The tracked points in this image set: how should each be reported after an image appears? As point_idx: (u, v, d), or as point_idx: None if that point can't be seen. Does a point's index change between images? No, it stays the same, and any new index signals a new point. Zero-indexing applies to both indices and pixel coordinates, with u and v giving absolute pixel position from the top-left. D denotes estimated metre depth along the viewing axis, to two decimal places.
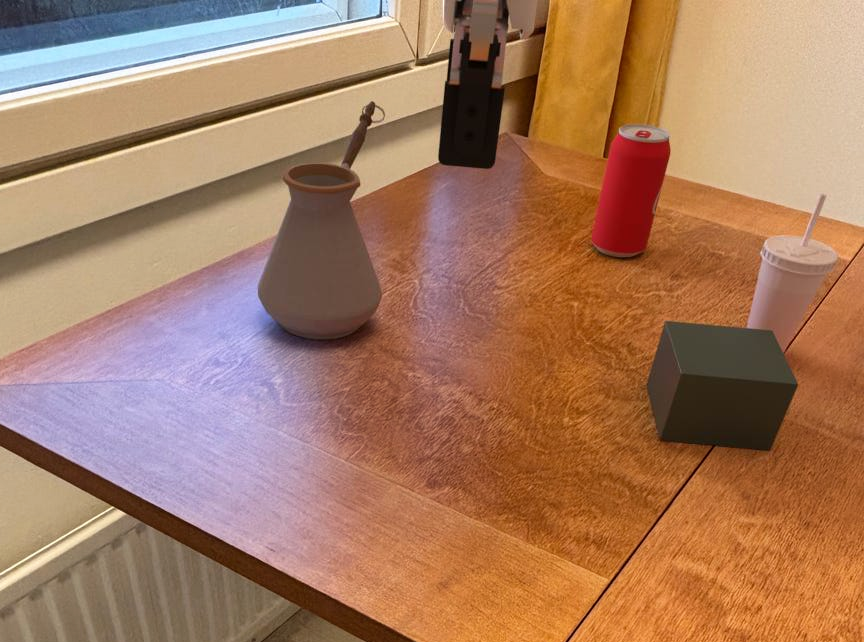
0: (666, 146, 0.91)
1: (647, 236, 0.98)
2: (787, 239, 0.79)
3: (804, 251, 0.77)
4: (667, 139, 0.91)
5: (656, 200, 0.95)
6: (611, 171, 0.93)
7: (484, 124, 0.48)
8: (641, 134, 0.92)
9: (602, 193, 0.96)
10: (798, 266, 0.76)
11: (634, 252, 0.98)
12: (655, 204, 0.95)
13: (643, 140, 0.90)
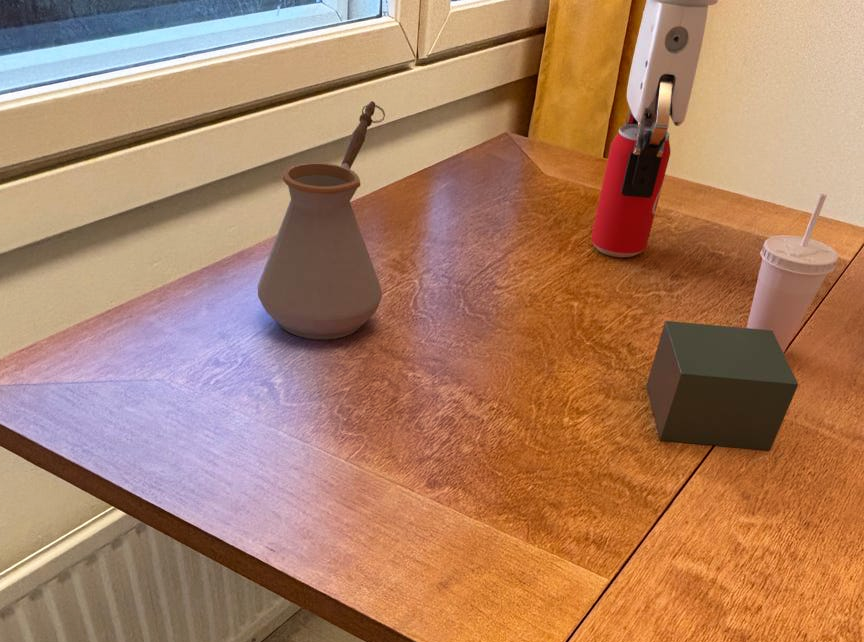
0: (666, 146, 0.91)
1: (647, 236, 0.98)
2: (787, 239, 0.79)
3: (804, 251, 0.77)
4: (667, 139, 0.91)
5: (656, 200, 0.95)
6: (611, 171, 0.93)
7: (650, 175, 0.91)
8: None
9: (601, 193, 0.96)
10: (798, 266, 0.76)
11: (634, 252, 0.98)
12: (655, 204, 0.95)
13: None
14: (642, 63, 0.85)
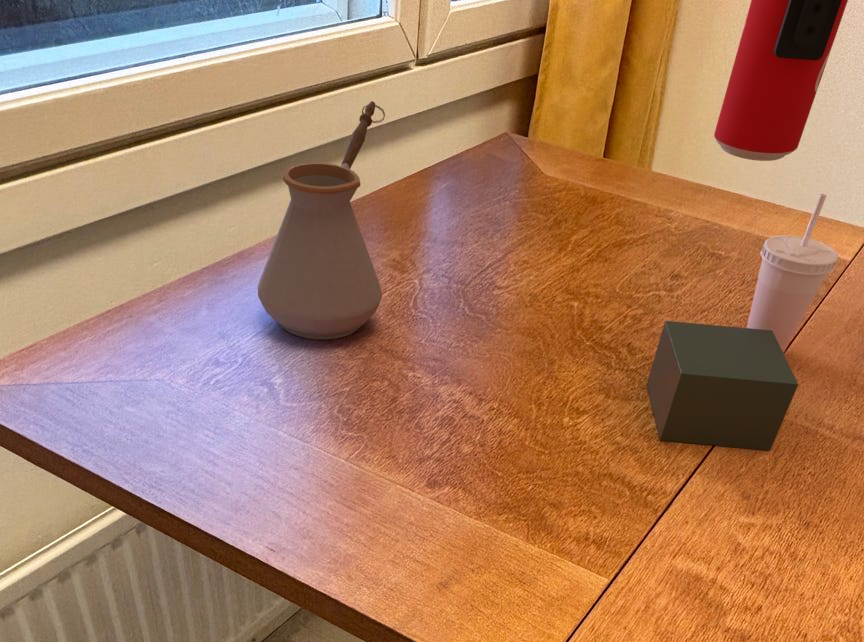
0: None
1: (802, 127, 0.65)
2: (787, 239, 0.79)
3: (804, 251, 0.77)
4: None
5: (822, 68, 0.63)
6: (757, 21, 0.61)
7: (825, 20, 0.59)
8: None
9: (738, 60, 0.64)
10: (798, 266, 0.76)
11: (782, 152, 0.66)
12: (820, 74, 0.63)
13: None
14: None
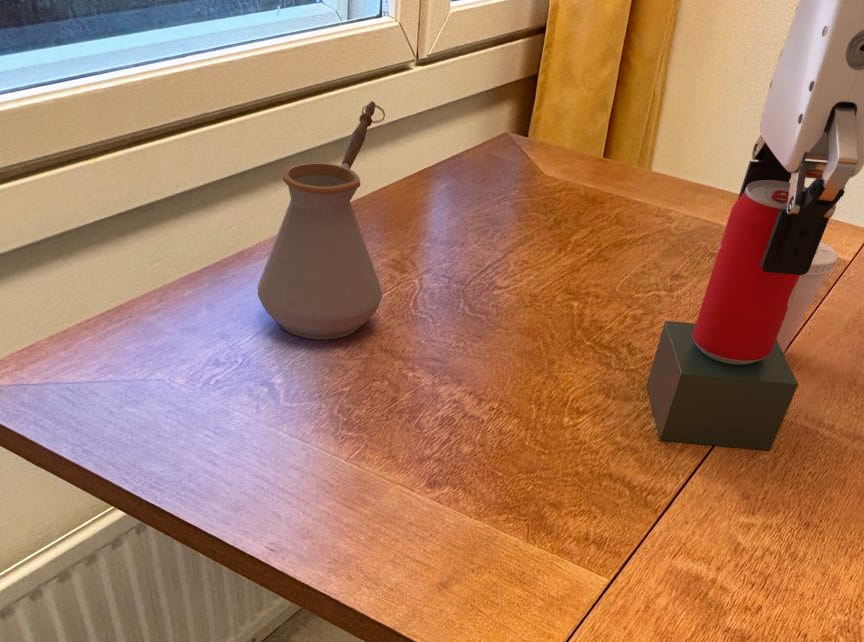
0: None
1: (776, 336, 0.69)
2: None
3: None
4: None
5: (794, 289, 0.66)
6: (732, 248, 0.65)
7: (810, 243, 0.60)
8: (779, 197, 0.63)
9: (714, 278, 0.67)
10: None
11: (757, 359, 0.69)
12: (792, 293, 0.66)
13: (785, 207, 0.61)
14: (802, 84, 0.56)
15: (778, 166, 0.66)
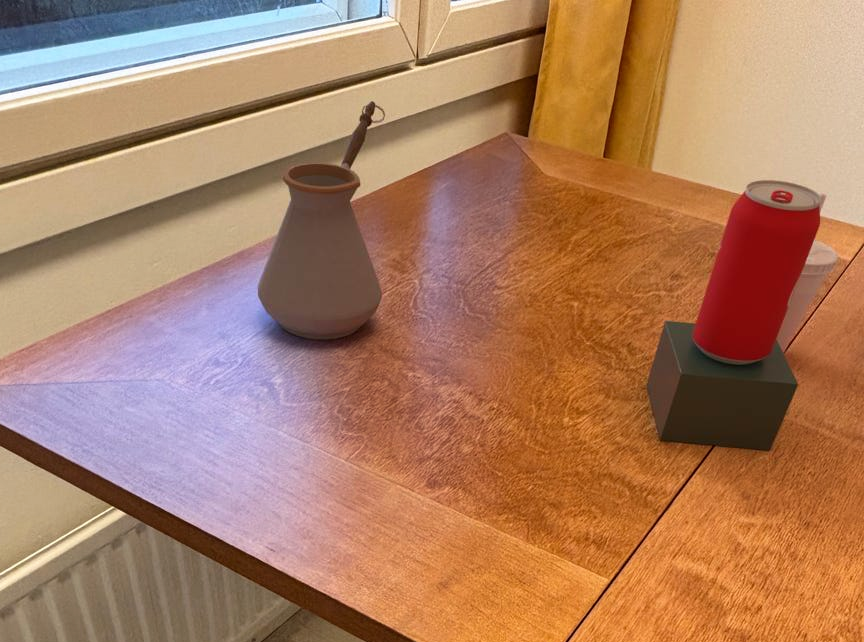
0: (816, 215, 0.62)
1: (776, 336, 0.69)
2: None
3: None
4: (818, 204, 0.62)
5: (794, 288, 0.66)
6: (732, 248, 0.65)
7: None
8: (779, 197, 0.63)
9: (714, 278, 0.67)
10: None
11: (757, 359, 0.69)
12: (792, 293, 0.66)
13: (785, 207, 0.61)
14: None
15: None
